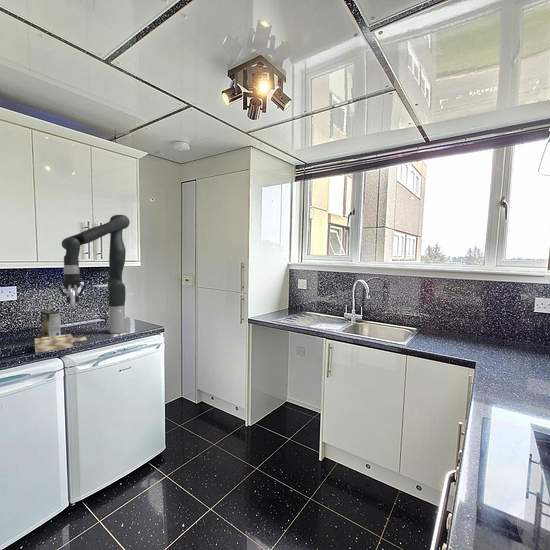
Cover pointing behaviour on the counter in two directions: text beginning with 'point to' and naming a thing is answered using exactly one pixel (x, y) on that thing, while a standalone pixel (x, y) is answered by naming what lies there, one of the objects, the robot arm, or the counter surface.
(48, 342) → the hole block
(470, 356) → the counter surface
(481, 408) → the counter surface
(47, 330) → the coffee box
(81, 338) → the mat
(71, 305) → the peg
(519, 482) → the counter surface
